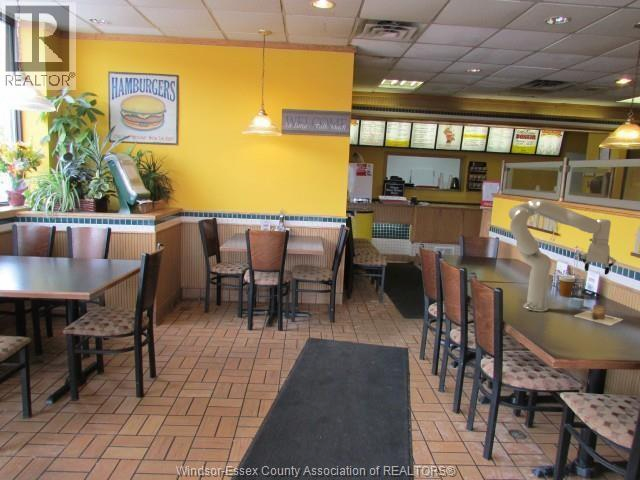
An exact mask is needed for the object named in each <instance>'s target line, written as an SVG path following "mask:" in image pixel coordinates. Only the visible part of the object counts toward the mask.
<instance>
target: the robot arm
mask: <svg viewBox="0 0 640 480" xmlns="http://www.w3.org/2000/svg"><path fill="white" fill-rule="evenodd" d="M535 215H538V216H540V217H543V218H546V219H549V220H551V221H553V222H556V223H558V224H559V223H560V224H562V225H566V226H570V227H573V228H576V229H578V230H579V231H581V232H583V233H584V232H585V233H588V234H592V238H589V239H588V240H589V242H590V243H589V246H588V249H587V251H586V252H587V253H583V254H581V255H580V258H581V261H582V262H583V264H584V271H585V272H588V271H589V269H590V263H596V264H602V265H603V264H604V265H605V268H604V275H608V274H609V273H610V269H611V267H612V266H614V265H615V264H616V262H617V259H615V257H614V258H613V257H612V256H611V254H610V252H611V249H610V244H609V239H610V233H611V225H612V222H611V220H609V219H604V218H592V217H589V216H586V215H584V214H581V213H579V212H576V211H573V210H571V209H568V208H567V207H563V206H562V205H561V206H560V205H558V204H556V203H553V202H551V201H548V200H545V199H543V198H542V199H540V198H534V199H531V200H529V201H527V202H523V203H520V204H518V205H515V206H513V207H511V208H510V209H509V211H508V217H509V219H511V220H510V227H509V228H510V232H511V234H512V236H513V237H514V238H513V239H515V241H516V245H515V246H516V248H517V250H518V251H519V253H520V254H521V256H522V257H523V259H524V260H525V261H526V263H527V264H528V265H529V266H530V267H531V269H530V273H529V280H528V289H527V297H526V303H524V304H523V308H525V309H526V310H530V311H532V312H533V311H534V312H547V311H549V308H548V307H547V306H546V304H547V301H546V300H547V293H548V285H549V276H550V272H551V269H552V260H551V258H550V257H549V256H548V255H547V254H545V253H544V252H542V251H541V250H540V245H539V243H538V241H537V240H536V239H535V237H534V236H533V234H532V233H531V231H530V229H529V228H528V221H529V218H530V217H532V216H535ZM585 257H586V258H585ZM610 261H611V263H610Z"/></svg>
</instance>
